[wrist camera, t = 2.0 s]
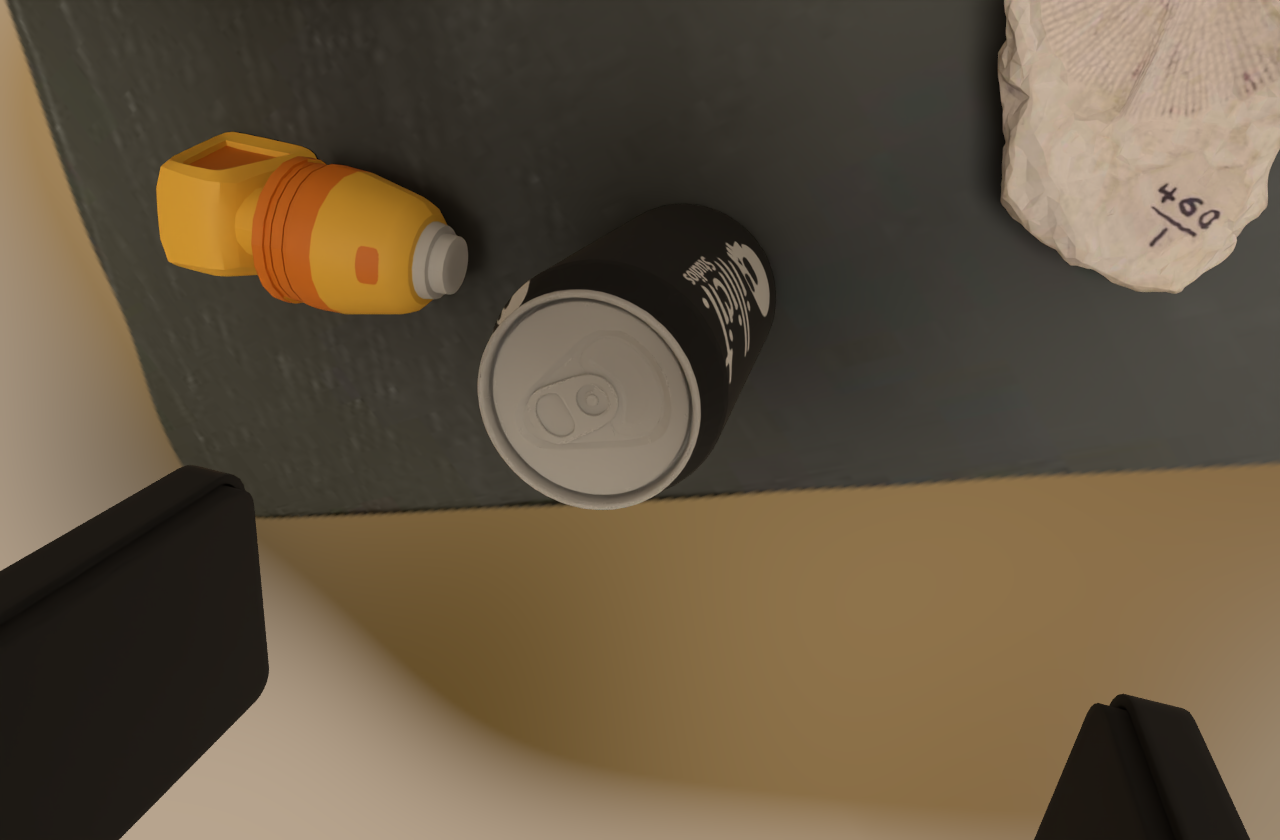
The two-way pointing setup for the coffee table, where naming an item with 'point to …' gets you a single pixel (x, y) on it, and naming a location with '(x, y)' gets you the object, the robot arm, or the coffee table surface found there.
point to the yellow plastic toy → (305, 227)
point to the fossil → (1139, 130)
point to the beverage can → (627, 357)
